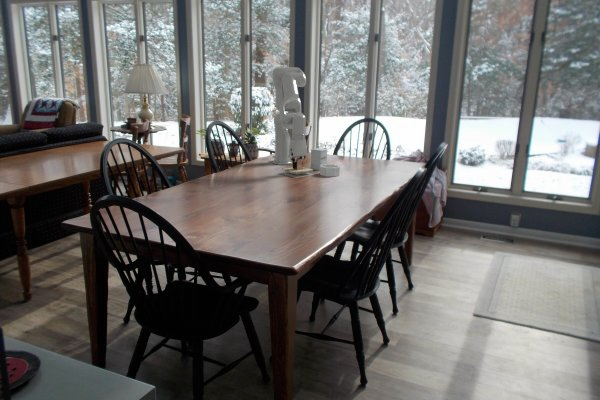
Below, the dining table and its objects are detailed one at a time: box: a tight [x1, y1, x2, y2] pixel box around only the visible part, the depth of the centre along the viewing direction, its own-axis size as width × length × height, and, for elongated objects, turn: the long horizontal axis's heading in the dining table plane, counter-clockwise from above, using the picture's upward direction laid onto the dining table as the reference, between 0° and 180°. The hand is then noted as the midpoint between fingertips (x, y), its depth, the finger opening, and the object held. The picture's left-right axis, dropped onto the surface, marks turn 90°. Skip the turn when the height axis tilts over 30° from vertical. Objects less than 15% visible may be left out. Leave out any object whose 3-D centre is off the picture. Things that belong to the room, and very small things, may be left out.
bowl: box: [319, 163, 341, 178], centre depth 288 cm, size 11×11×6 cm
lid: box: [281, 157, 314, 174], centre depth 288 cm, size 13×13×7 cm
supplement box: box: [310, 147, 328, 171], centre depth 303 cm, size 7×7×13 cm
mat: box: [280, 171, 315, 179], centre depth 289 cm, size 14×14×1 cm
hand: (297, 167), depth 289 cm, fingers closed on lid, 4 cm apart
